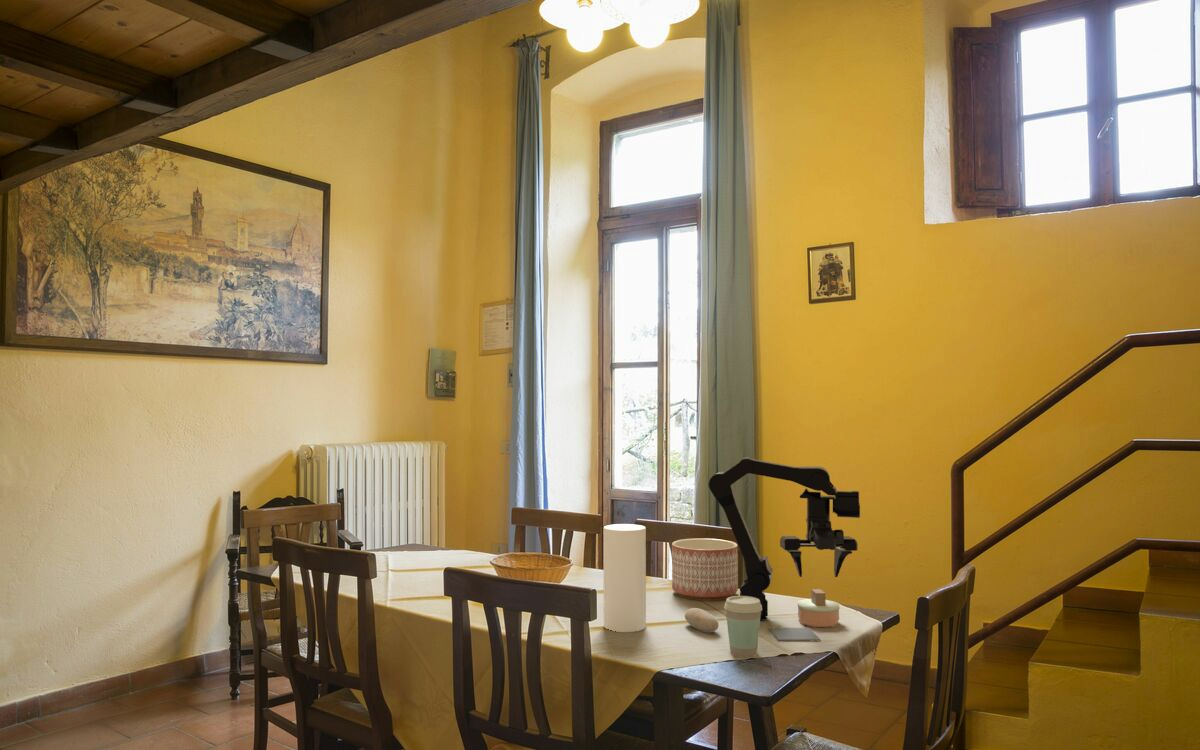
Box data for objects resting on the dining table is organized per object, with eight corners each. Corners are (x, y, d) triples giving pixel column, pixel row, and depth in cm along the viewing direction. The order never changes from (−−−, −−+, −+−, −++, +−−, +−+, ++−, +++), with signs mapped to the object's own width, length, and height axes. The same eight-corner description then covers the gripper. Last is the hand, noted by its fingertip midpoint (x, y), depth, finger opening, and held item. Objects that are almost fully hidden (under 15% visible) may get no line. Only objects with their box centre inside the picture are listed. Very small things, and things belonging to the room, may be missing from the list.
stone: (697, 611, 210) (726, 607, 201) (694, 636, 208) (724, 633, 198) (679, 606, 208) (708, 602, 198) (676, 631, 205) (706, 628, 196)
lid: (803, 612, 204) (803, 596, 204) (793, 601, 214) (793, 586, 214) (844, 612, 204) (844, 596, 204) (832, 601, 214) (832, 586, 215)
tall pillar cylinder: (648, 631, 201) (648, 530, 201) (605, 632, 200) (605, 530, 201) (643, 620, 211) (642, 523, 212) (602, 621, 211) (602, 524, 211)
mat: (778, 641, 193) (778, 639, 193) (769, 629, 203) (769, 627, 203) (820, 641, 193) (820, 639, 193) (809, 629, 203) (809, 627, 203)
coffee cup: (754, 646, 189) (754, 594, 189) (768, 658, 180) (768, 603, 181) (719, 648, 187) (719, 596, 188) (731, 660, 179) (731, 605, 179)
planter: (678, 585, 252) (678, 537, 252) (741, 589, 246) (740, 539, 247) (666, 599, 233) (666, 547, 234) (734, 604, 228) (733, 551, 228)
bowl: (804, 627, 204) (804, 611, 204) (794, 617, 214) (794, 602, 214) (843, 627, 204) (843, 611, 204) (832, 617, 214) (831, 602, 214)
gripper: (790, 520, 202) (790, 583, 201) (865, 521, 202) (865, 584, 202) (779, 514, 213) (779, 574, 212) (850, 514, 213) (850, 574, 213)
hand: (818, 576), depth 210 cm, fingers open, 9 cm apart
